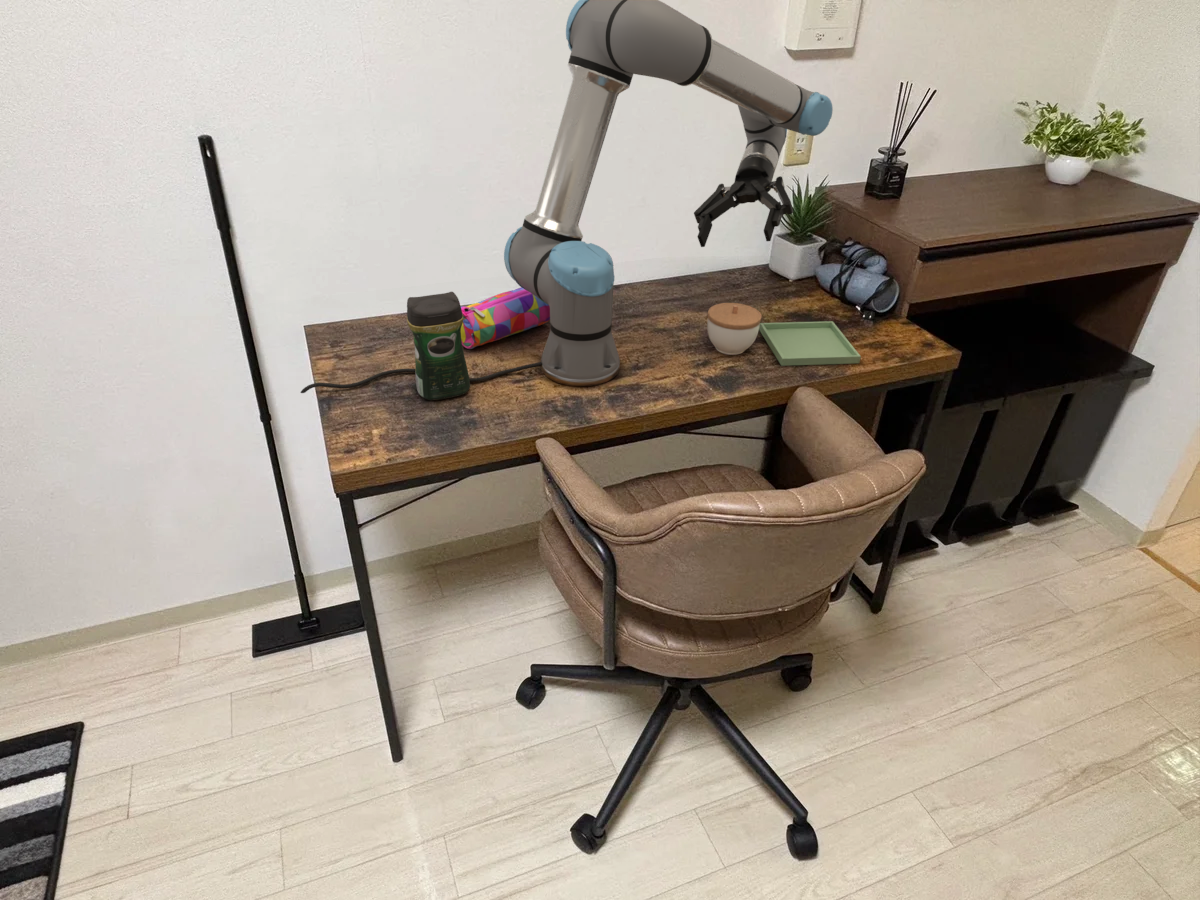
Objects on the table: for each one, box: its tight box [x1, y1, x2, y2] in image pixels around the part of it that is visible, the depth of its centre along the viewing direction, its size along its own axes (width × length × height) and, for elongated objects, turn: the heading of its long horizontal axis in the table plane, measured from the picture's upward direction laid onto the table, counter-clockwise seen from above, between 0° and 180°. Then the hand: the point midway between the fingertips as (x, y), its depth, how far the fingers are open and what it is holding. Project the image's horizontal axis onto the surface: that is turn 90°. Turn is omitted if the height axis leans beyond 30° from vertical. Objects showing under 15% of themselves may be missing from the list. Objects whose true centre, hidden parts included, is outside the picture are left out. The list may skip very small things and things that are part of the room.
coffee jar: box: [406, 291, 471, 401], centre depth 137 cm, size 10×8×19 cm
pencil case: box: [460, 287, 550, 350], centre depth 159 cm, size 22×9×9 cm, turn 132°
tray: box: [759, 321, 862, 367], centre depth 160 cm, size 16×16×2 cm
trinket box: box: [706, 302, 762, 356], centre depth 156 cm, size 11×11×9 cm
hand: (733, 239), depth 152 cm, fingers open, 13 cm apart
